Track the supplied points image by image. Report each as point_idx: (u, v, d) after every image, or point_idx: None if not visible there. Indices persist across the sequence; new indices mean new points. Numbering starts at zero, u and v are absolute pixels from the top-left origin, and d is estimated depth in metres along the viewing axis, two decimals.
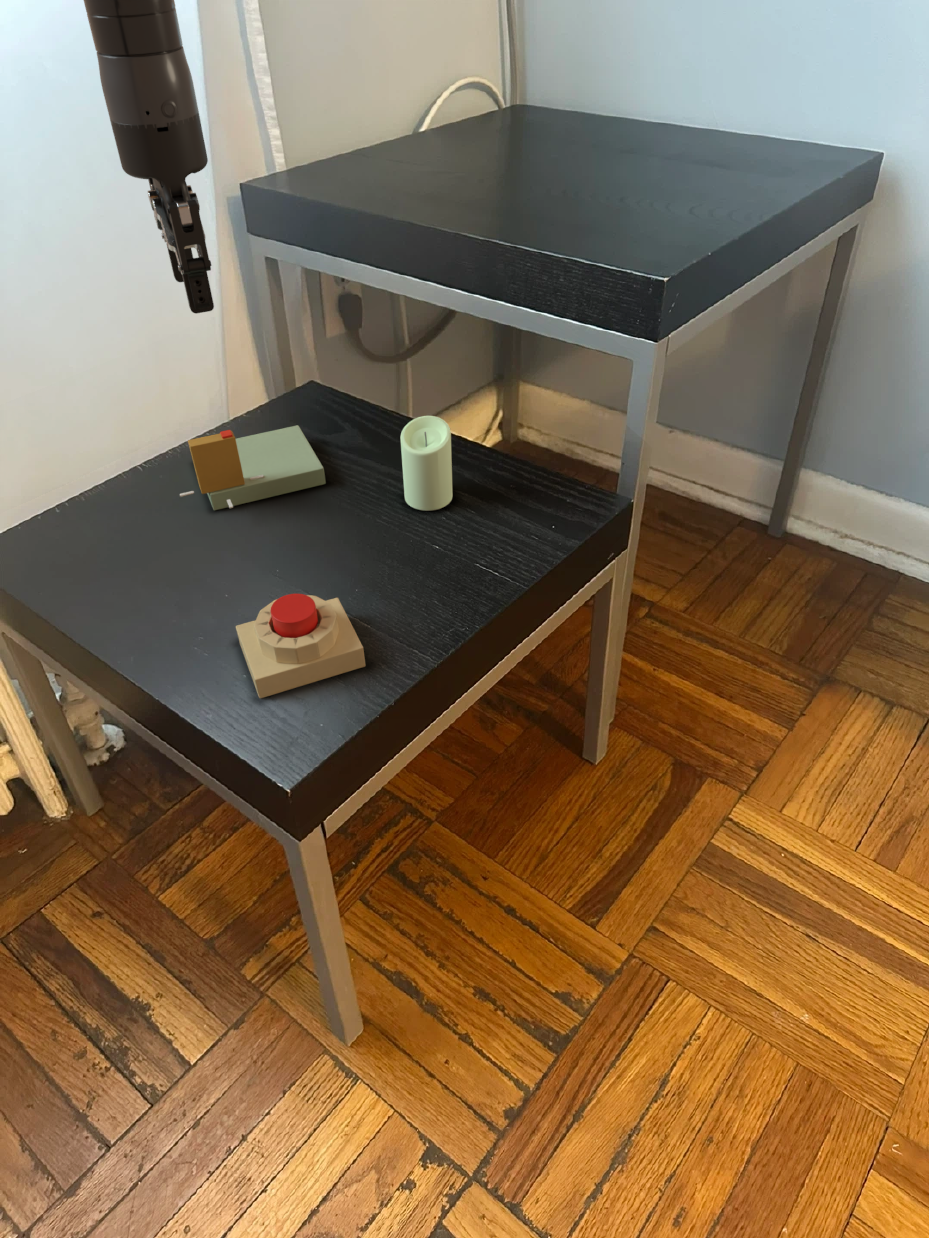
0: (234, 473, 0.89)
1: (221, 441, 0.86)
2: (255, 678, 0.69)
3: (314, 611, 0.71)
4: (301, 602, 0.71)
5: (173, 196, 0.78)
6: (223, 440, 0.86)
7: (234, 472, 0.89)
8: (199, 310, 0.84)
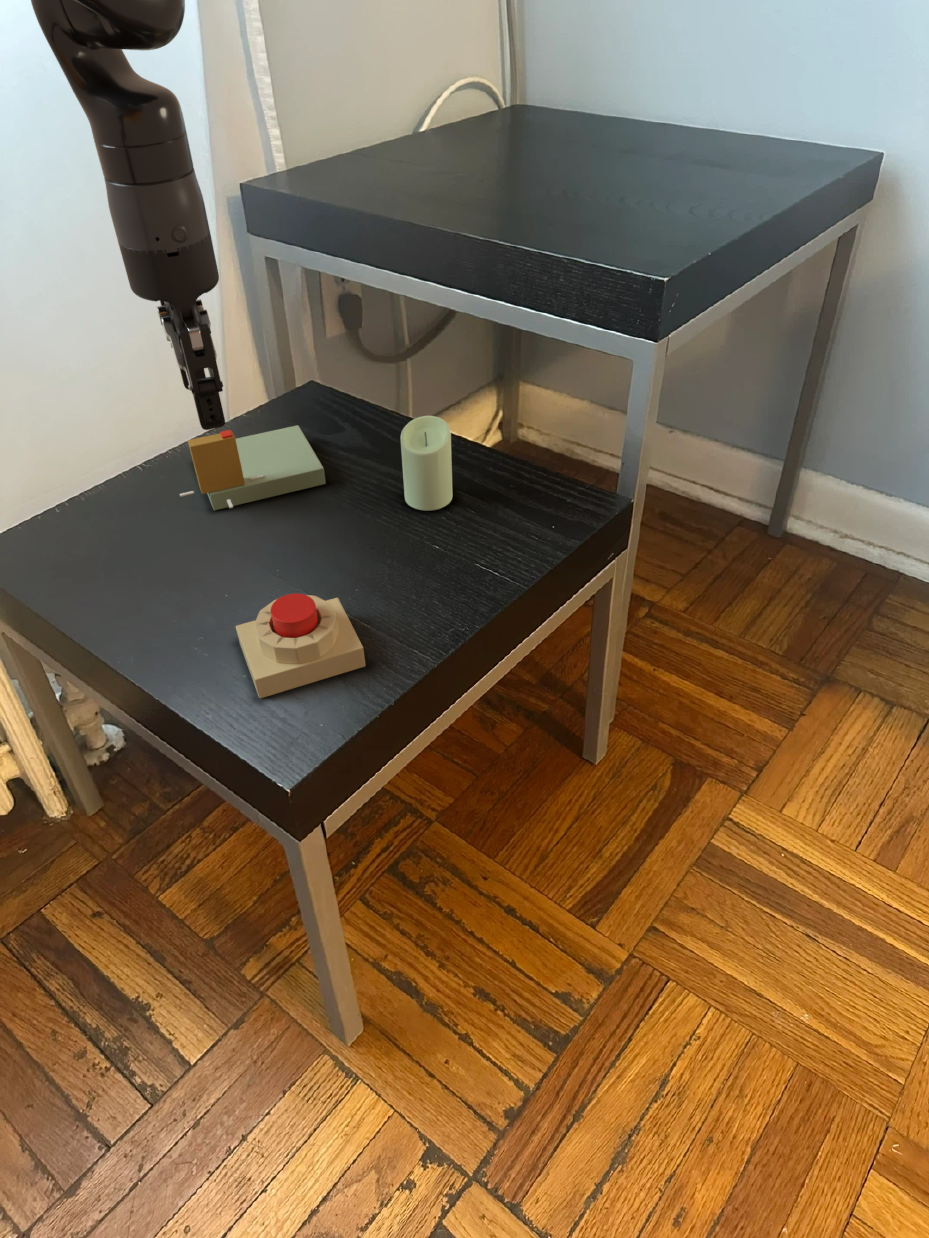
0: (234, 473, 0.89)
1: (221, 441, 0.86)
2: (255, 678, 0.69)
3: (314, 611, 0.71)
4: (301, 602, 0.71)
5: (183, 318, 0.75)
6: (223, 440, 0.86)
7: (234, 472, 0.89)
8: (210, 426, 0.81)
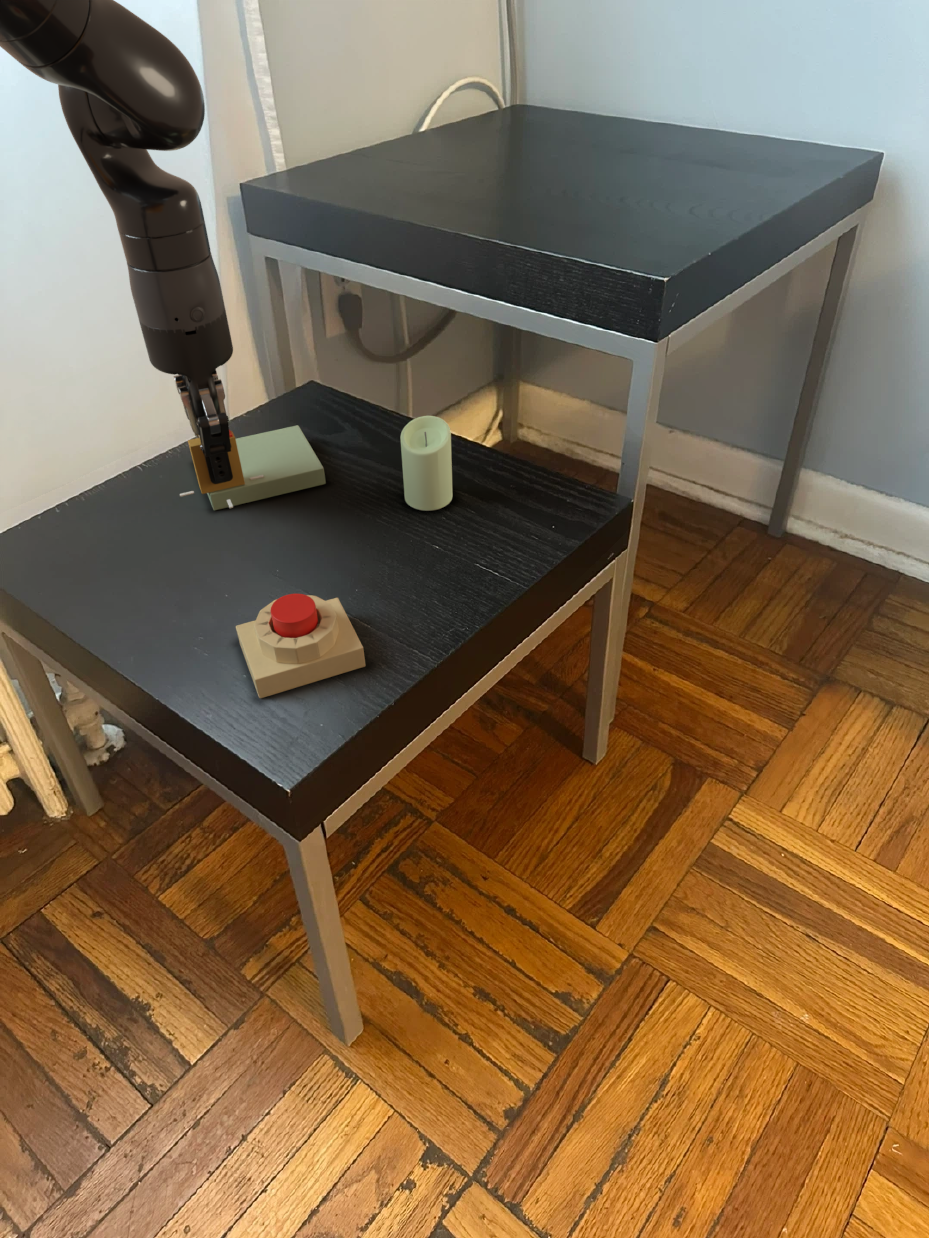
0: (234, 473, 0.89)
1: None
2: (255, 678, 0.69)
3: (314, 611, 0.71)
4: (301, 602, 0.71)
5: (201, 394, 0.79)
6: None
7: (234, 472, 0.89)
8: (219, 481, 0.88)
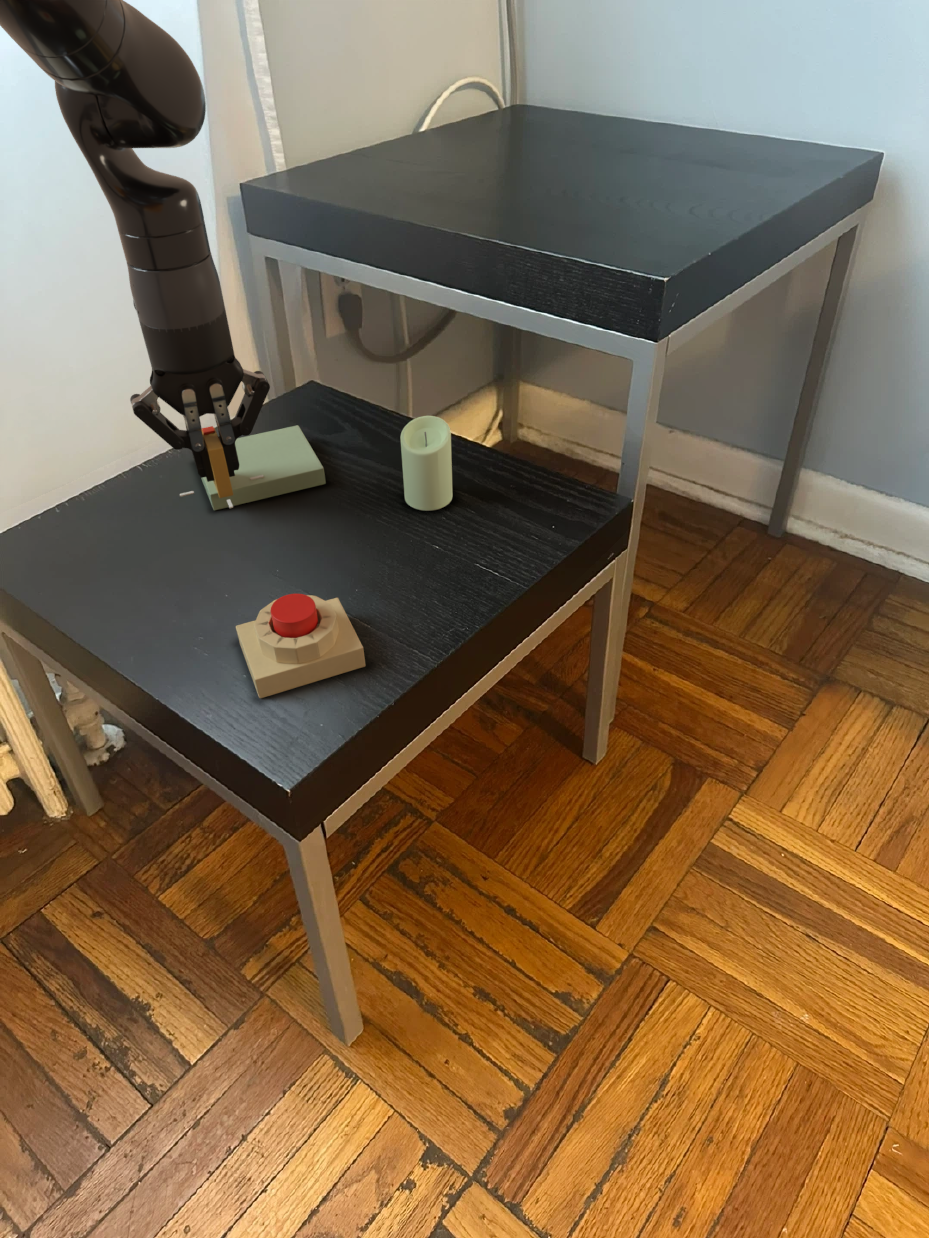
0: None
1: (216, 434, 0.87)
2: (255, 678, 0.69)
3: (314, 611, 0.71)
4: (301, 602, 0.71)
5: None
6: (216, 433, 0.88)
7: None
8: None
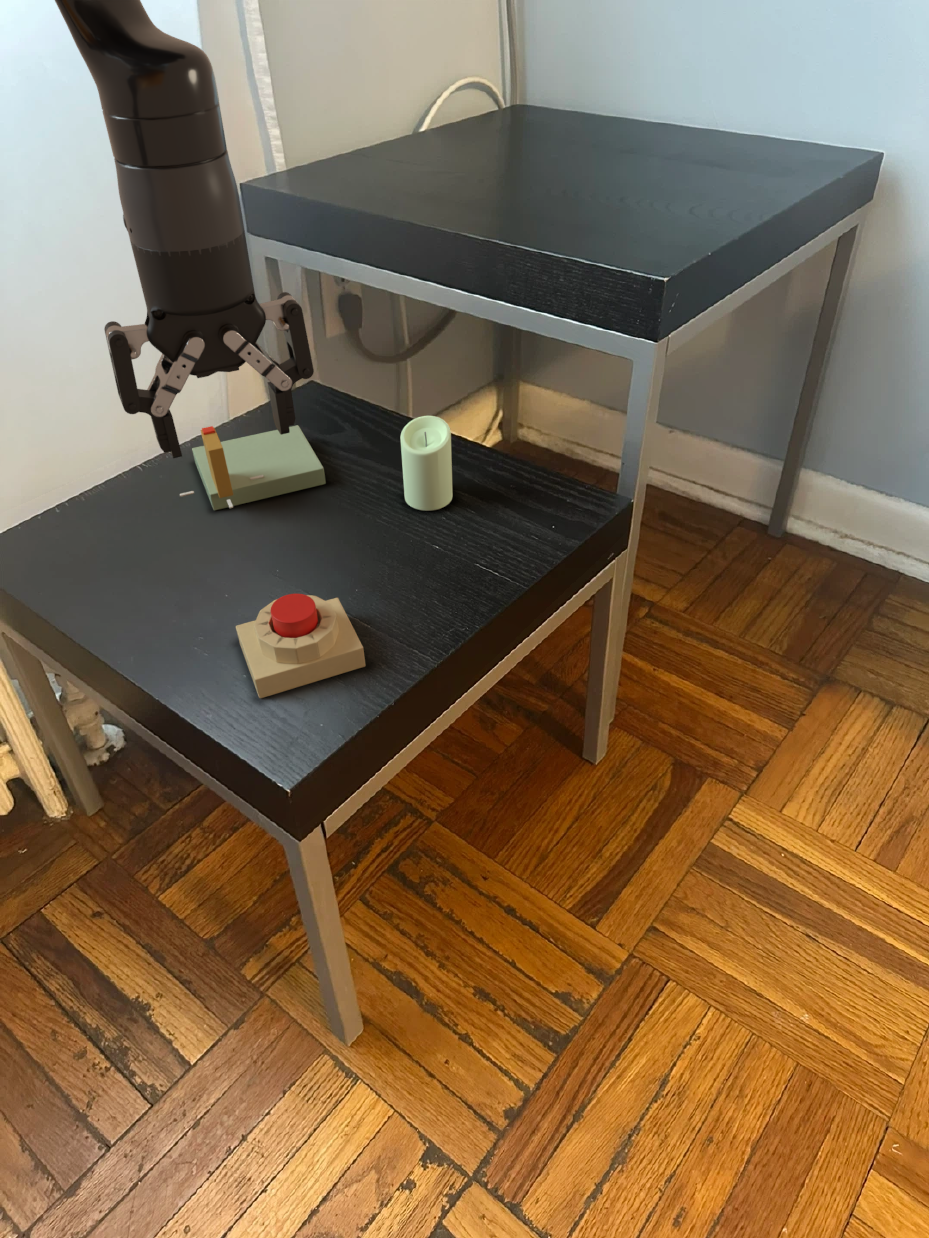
0: None
1: (216, 434, 0.87)
2: (255, 678, 0.69)
3: (314, 611, 0.71)
4: (301, 602, 0.71)
5: None
6: (216, 433, 0.88)
7: None
8: None
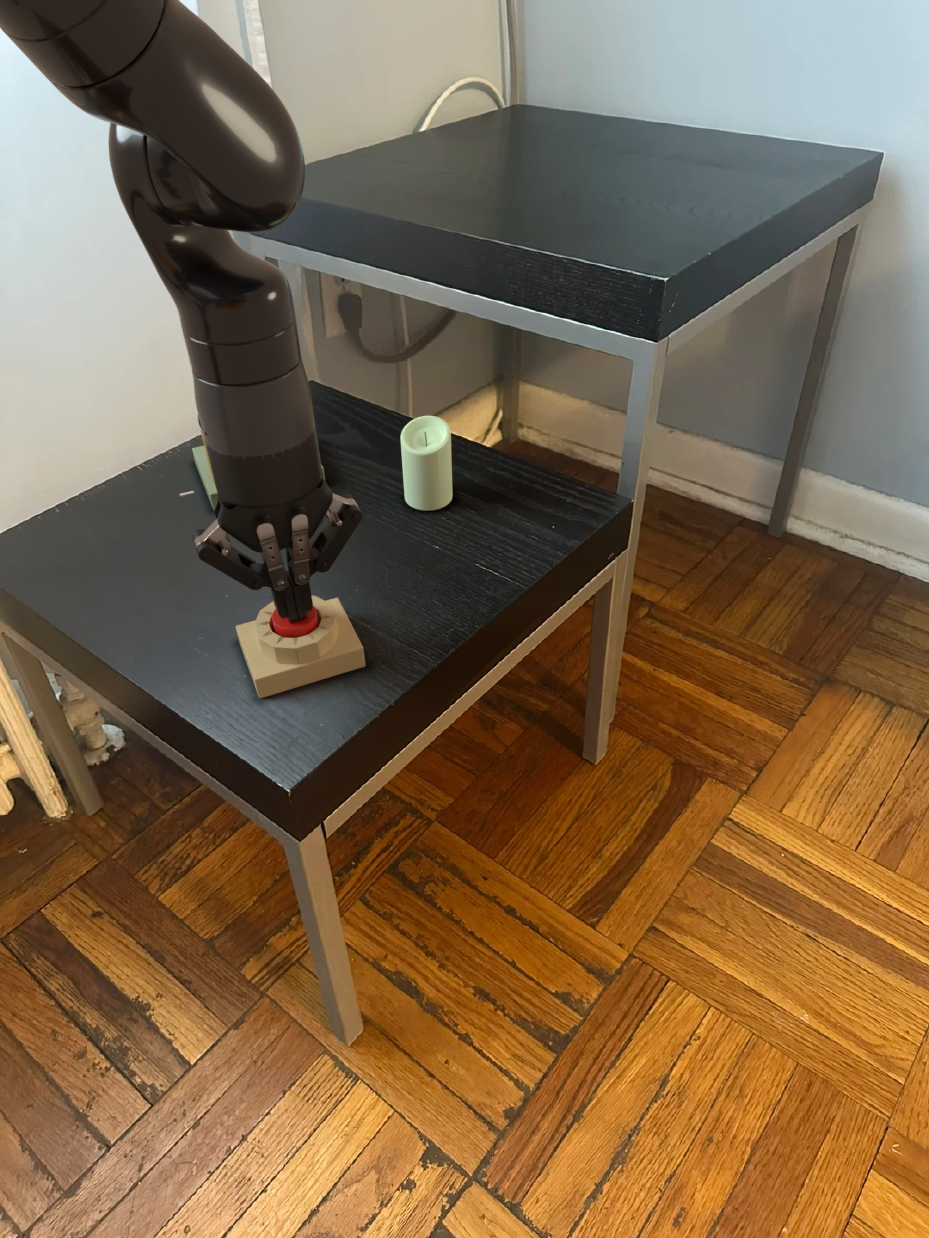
0: None
1: None
2: (255, 678, 0.69)
3: (315, 618, 0.71)
4: None
5: None
6: None
7: None
8: None
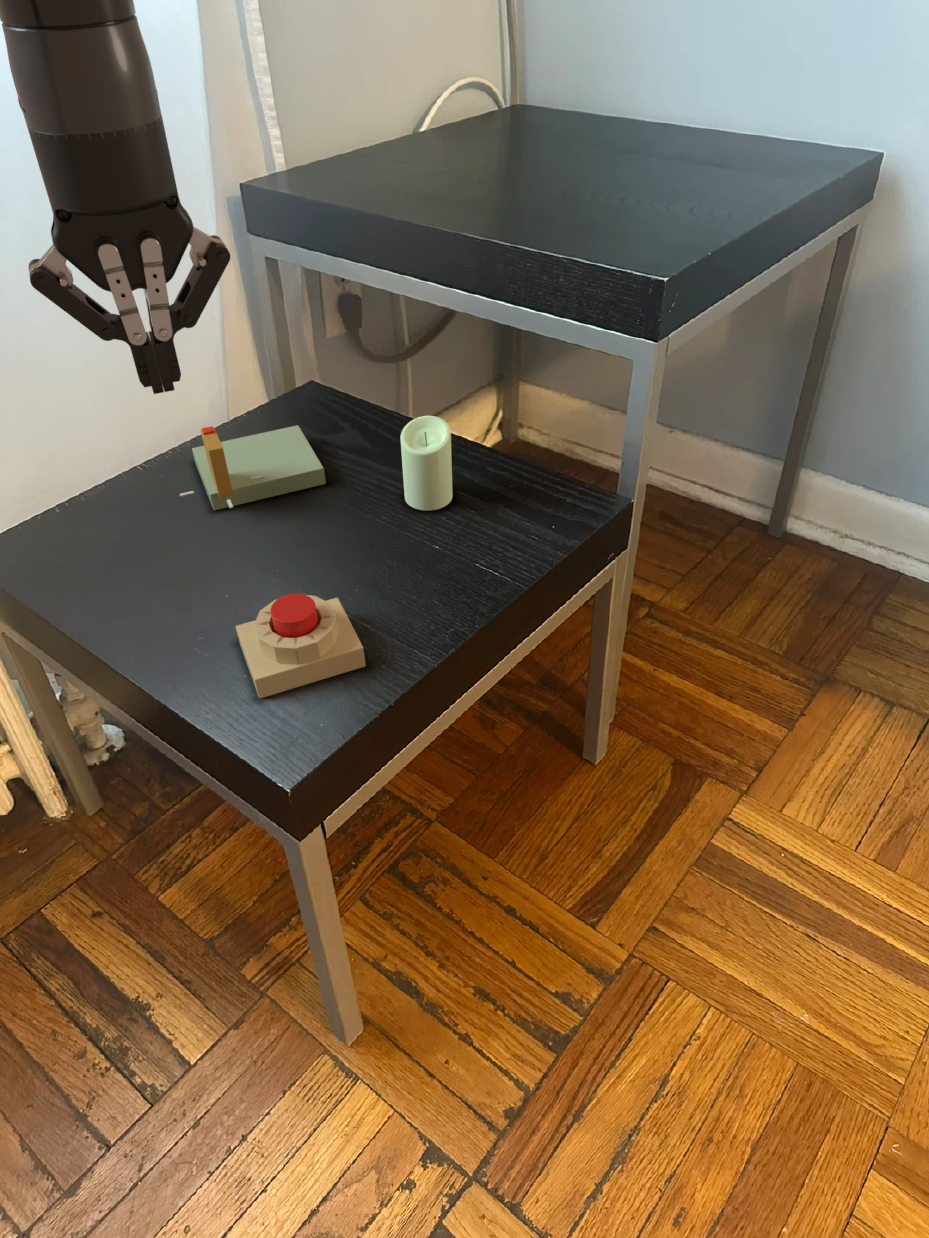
0: None
1: (216, 434, 0.87)
2: (255, 678, 0.69)
3: (314, 611, 0.71)
4: (301, 602, 0.71)
5: None
6: (216, 433, 0.88)
7: None
8: None
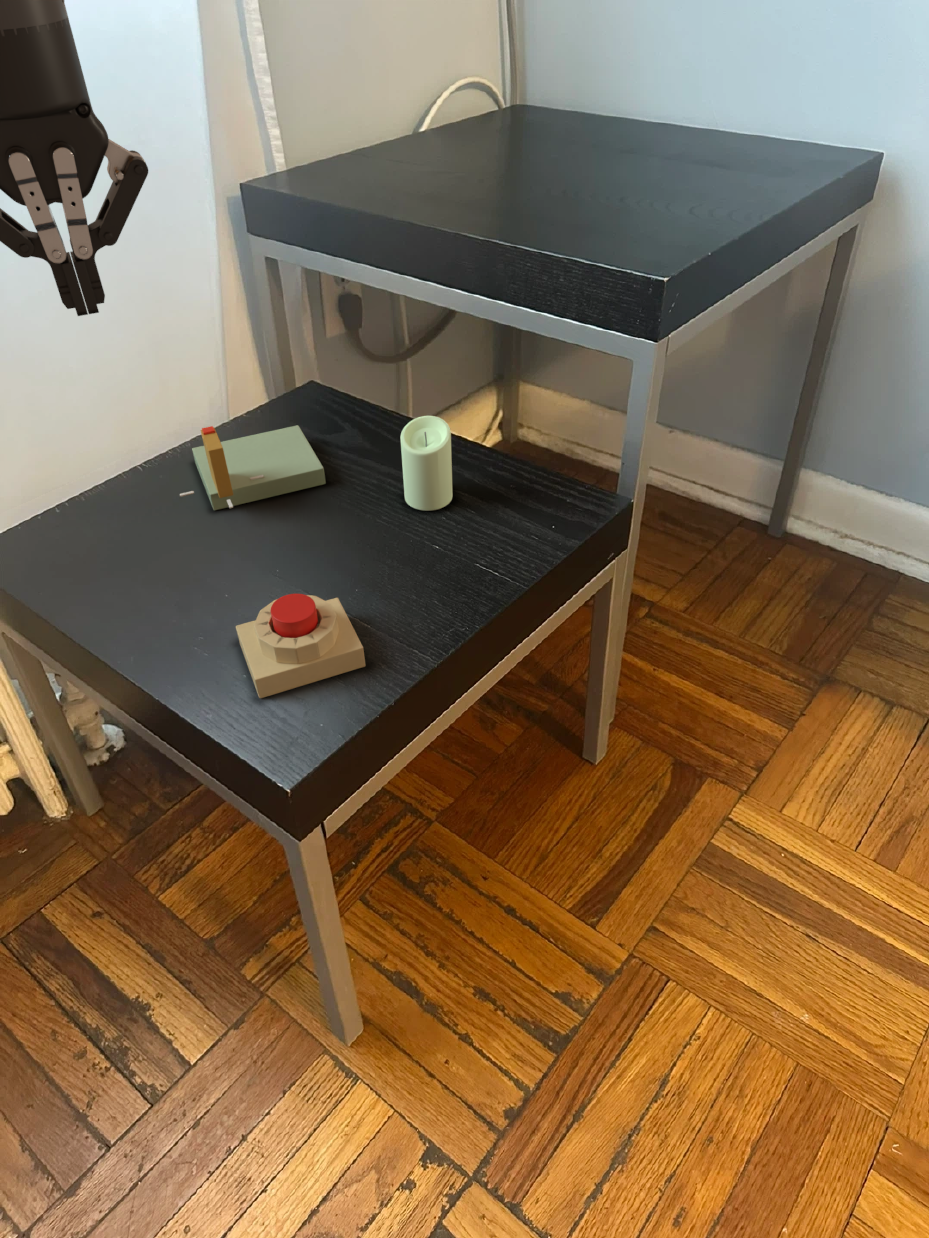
0: None
1: (216, 434, 0.87)
2: (255, 678, 0.69)
3: (314, 611, 0.71)
4: (301, 602, 0.71)
5: None
6: (216, 433, 0.88)
7: None
8: None
